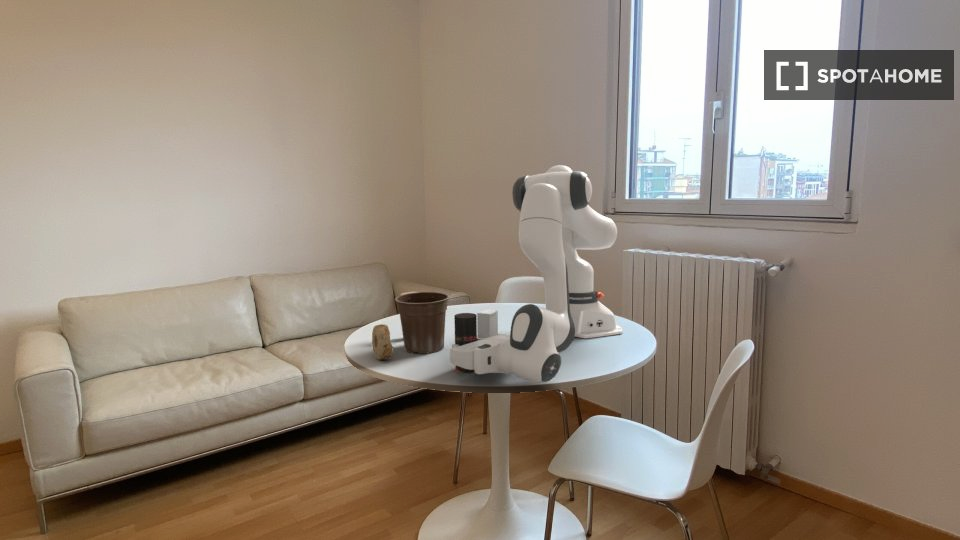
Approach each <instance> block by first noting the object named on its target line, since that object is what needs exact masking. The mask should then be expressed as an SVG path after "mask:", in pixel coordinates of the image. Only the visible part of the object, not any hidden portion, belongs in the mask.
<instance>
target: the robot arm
mask: <svg viewBox="0 0 960 540" xmlns="http://www.w3.org/2000/svg"><path fill="white" fill-rule="evenodd" d="M592 194H593V185H592V182H591V180H590V177H589V175H588V174H586V173H585V172H583V171H579V170H572V169H571V168H570V167H569V166H567V165H563V164H558V165H554V166H551V167H549V169H548V170H546V172H544V173H537V174H533V175H529V174H528V175H525V176H521V177H518V178H517V179H516V181H515V182H514V183H513V185H512V193H511V195H512V201H513V206H514V207H515V208H516V210H518V211H519V212H520V214H519V221H518V223H519V224H518V241H519V247H520V249H521V251H522V253H523V254H524V255H525V256H526V258H528V259H529V260H530V261H531V263H533V265H534V266H535V267H536V268H537V270H539V272H540V274H541V276H542V279H543V281H544V299H545V300H544V301H545V302H544V303H545V307H543V306H538V305H535V304H532V303H527V304H525V305H522V306H521V307H519V308H518V309H517V310H516V312H515V313H514V315H513V317H512V320H511V325H510V331H509V332H510V333H509V335H508V334H505V333H498V335H494V336H491V337H488V338H477V341H475V342H472V343H468V344H465V345H462V346H460V344H458V343H456V344H455V343H453V344H452V345H451V348H450V351H449V360H450V363H451V364H452V365H456V366H459V367H462V368H465V369H469V370H474V371H475V372H474V373H475V374H477V375H484V374H485V375H486V374H491V373H493V374H497V373H498V374H500V373H501V374H502V373H503V374H505V375H513V376H515V377H516V378H518V379H522V380H526V381H529V382H534V383H546V382H549V381H551V380H553V379H554V378H555V377H557V375H558V373H559V371H560V369H561V365H562V358H561V355H560V353H561V352H563V351H565V350H567V349H568V348H569V347H570V346H571V344H572V343H573V341H574V339H575V338H576V337H577V338H580V339H591V338H598V337H599V338H600V337H608V336H613V335H622V334H623V328H622V327H621V326H620V325H618V324H617V322H616V321H617V320H616V318H615V314H614V313H613V312H612V310H611V309H609V308H608V307H606V306H605V305H604V304H602V302H600V301H599V300H603V298H604V297H605V295H604V293H603V292H599V291H597V290H594V277H595V276H594V273H595V272H594V267H593V266H592V265H591V263H589V262H588V261H586V260H585V259H583V258H582V257H580V256H579V254H578V251H577V250H592V251H598V250H604V249H610V248H611V247H612V246H613V245H614V244H615V242H616V240H617V237H618V228H617V225H616V223H615V221H613V219H612V218H609V217H607V216H604V215H603V214H600V213H598V212H597V211H596V210H595V209H593V208H592V206H590V205H589V204H590V201H591V199H592ZM456 366H455V367H456Z"/></svg>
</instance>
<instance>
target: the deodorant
mask: <svg viewBox="0 0 960 540" xmlns="http://www.w3.org/2000/svg"><path fill="white" fill-rule="evenodd" d="M475 341H477V314H476V313H472V312H459V313H455V315H454V344H456V343H458V344H460V346H462V345H465V344H468V343H472V342H475ZM457 371H458V373H460V372H461V373H460V374H469V373H470V374H471V373H475V371H474V370H469V369H465V368H462V367H459V366H456V365H455V372H457Z"/></svg>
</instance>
